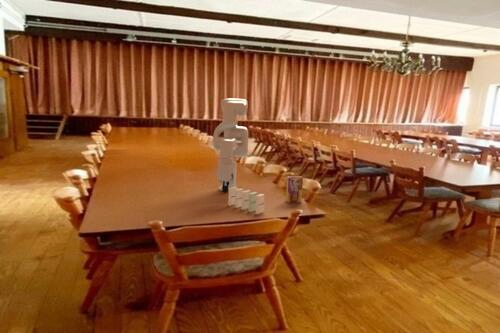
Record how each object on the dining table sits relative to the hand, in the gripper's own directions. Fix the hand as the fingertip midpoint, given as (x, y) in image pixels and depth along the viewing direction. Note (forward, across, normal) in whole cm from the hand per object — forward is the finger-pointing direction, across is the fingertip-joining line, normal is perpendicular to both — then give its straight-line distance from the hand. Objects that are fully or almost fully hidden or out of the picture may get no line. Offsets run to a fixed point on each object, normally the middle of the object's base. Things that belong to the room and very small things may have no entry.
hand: (225, 192), depth 199 cm
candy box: (+6, +26, +32) cm, 42 cm away
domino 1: (+6, +6, 0) cm, 9 cm away
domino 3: (+6, +16, 0) cm, 17 cm away
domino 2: (+6, +11, 0) cm, 13 cm away
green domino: (+6, +21, 0) cm, 22 cm away
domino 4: (+6, +26, 0) cm, 27 cm away
